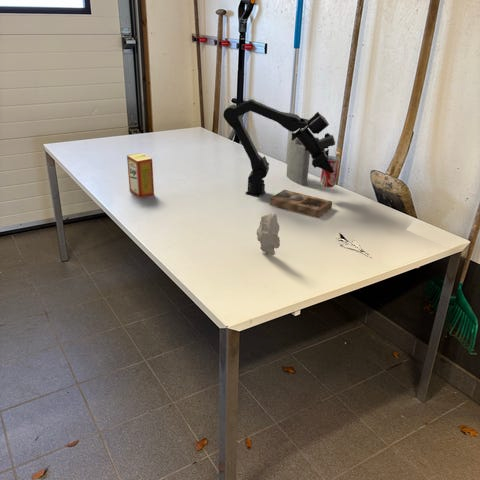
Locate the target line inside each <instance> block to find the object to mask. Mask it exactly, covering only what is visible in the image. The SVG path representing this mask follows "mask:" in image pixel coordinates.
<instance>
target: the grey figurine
mask: <svg viewBox="0 0 480 480" xmlns="http://www.w3.org/2000/svg"><path fill="white" fill-rule="evenodd" d="M279 231H280V224H279V222H278V216H277V214H276V213H271V212H270V213H269V214H267V215H263V216H261V217H260V221H259V226H258V228H257V229H256V237H257V238H256V239H257V241H258V242H259V243H260V248H259V249H260V250H261V251H262V252H263V253H265V254H266V255H270V256H275V254H276V251H275V249H278V248H280V246H281V240H280V237H279V236H278V235H279Z"/></svg>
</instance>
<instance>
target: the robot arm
mask: <svg viewBox="0 0 480 480" xmlns="http://www.w3.org/2000/svg"><path fill="white" fill-rule="evenodd" d="M249 112H252V113H255V114H258V115H260V116H262V117H264V118H266V119H269V120H270V121H271V120H272V121H273V122H276V123H277V124H279V125H280V126H281V127H282V128H285V129H286V130H288V131H289V132H291V139H292V141H293V140H294V139H295V138H297V139H298V140H299V141H300V143H301V144H302V145H303V146H304V147H305V150H306V151H308V152H309V153H310V158H311V159H312V160H311V165H312V166H313V167H314V169H317V168H319V169H321V170H322V169H324V170H326V171H328V172H330V173H333V172H334V171H333V169H332V167H331V165H330V164H329V162H328V156H330V155H329V154H330V153H329V152H330V148H329V147H333V146H335V145H336V140H335V138H334V134H330V133H329V132H327V133H325V134H324V137H322V138H321V139H320V138H319V137H316V136H314V135H319V134H320V133H321V132H322V131H323V130H325V129H326V128H328V126H330V124H329V121H328V120H327V119H326V118H325V116H323V115H322V114H320V112H319V111H317V112H315V114H314V115H313V116H312V117H310V118H309V119H307V118H303V117H300V116H299V115H298V114H295V113H291V112H284V111H281V110H278V109H276V108H273V107H271V106H268V105H266V104H263V103H261V102H258V101H256V100H255V99H253V98H250V99H248V100H247V101H244V102H241V103H238V104H236V105H235V104H231V105H229V106H227V108H225V109H224V111H223V115H222V117H223V119H224V120H225V121H226V123H227V124H228V125H229V126H230V127H231V128H232V130H233V131H234V132H235V134H236V135H237V137H238V139H239V141H240V144H241V145H242V148H243V149H244V152H245V153H246V155H247V157H248V159H249V161H250V166H251V171H250V174H249V175H248V178H247V191H246V192H245V194H246V195H250V196H253V197H260V196H262V195H264V194H265V193H266V191H265V189H266V186H265V185H266V184H265V180H264V179H265V178H266V177H267V175H268V173H269V170H270V162H268V160H267V158H266V156H265V155H264V156H263V157H262V156H261V155H260V154H259V152H258V150H257V148H256V146H255V145H254V142H253V141H252V138H251V136H250V135H249V132H248V130H247V128H246V126H245V124H244V119H243V115H244V114H246V113H249Z"/></svg>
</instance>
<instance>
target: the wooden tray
mask: <svg viewBox="0 0 480 480" xmlns="http://www.w3.org/2000/svg"><path fill="white" fill-rule="evenodd" d="M269 205H270V206H271V207H272V206H274V207H277V208H280V209H284V210H288V211H292V212H296V213H299V214H303V215H306V216H310V217H314V218H317V219H320V218H321V217H323V216H324V215H325V214H326V213H327V212H329V211H330V210H331V209H332V208H333V207H332V206H333V201H332V200H328V199H323V198H320V197H316V196H311V195H308V194H307V195H306V194H303V193H299V192H297V191H290V190H287V189H283V190H281V191H279V192H278V193H276V194H275V195H273V196H271V197H270V198H269Z"/></svg>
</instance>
